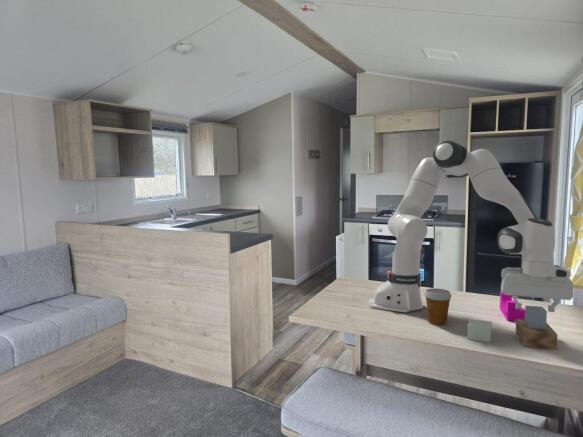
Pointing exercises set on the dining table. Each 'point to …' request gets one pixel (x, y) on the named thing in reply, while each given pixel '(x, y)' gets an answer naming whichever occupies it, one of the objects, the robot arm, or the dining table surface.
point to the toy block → (510, 308)
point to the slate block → (535, 317)
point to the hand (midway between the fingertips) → (534, 310)
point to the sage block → (479, 330)
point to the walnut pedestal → (536, 336)
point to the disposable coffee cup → (437, 305)
